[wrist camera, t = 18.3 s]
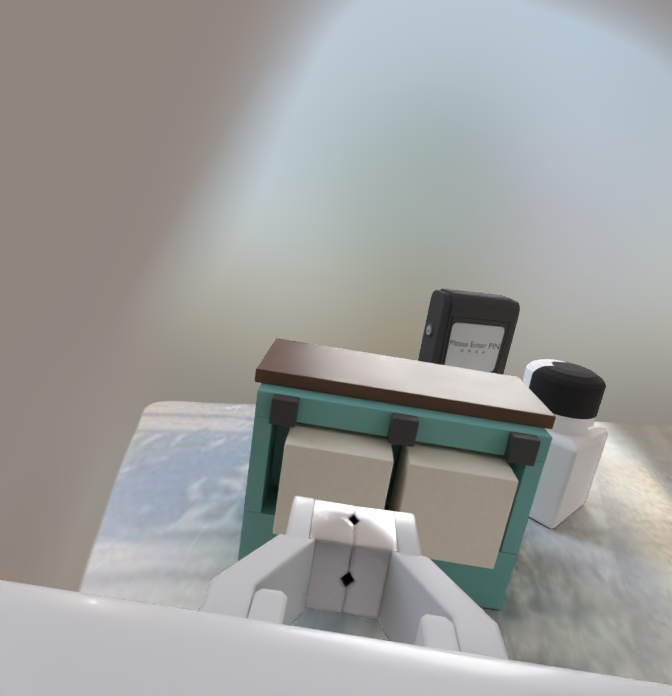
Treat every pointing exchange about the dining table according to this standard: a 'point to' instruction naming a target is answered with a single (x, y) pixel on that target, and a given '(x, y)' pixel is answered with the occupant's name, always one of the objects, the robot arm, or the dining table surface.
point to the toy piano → (397, 432)
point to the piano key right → (455, 501)
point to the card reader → (469, 330)
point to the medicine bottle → (567, 436)
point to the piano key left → (332, 469)
